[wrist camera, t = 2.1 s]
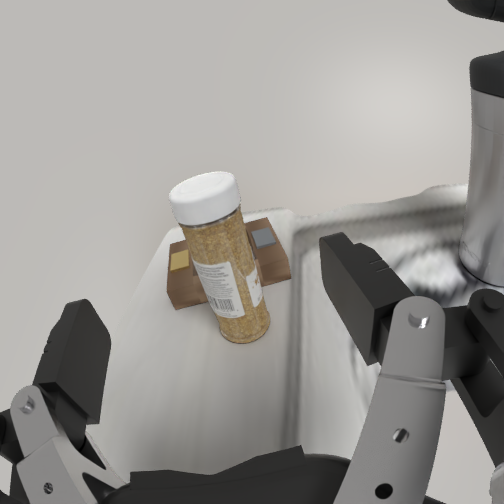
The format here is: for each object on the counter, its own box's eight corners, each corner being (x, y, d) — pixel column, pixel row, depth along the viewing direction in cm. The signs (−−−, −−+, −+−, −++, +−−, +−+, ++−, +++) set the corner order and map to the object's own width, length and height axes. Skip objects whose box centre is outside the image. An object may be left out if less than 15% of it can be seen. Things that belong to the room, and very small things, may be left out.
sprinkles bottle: (281, 321, 27) (249, 173, 19) (243, 354, 24) (189, 204, 17) (246, 300, 30) (208, 166, 22) (210, 328, 27) (155, 192, 20)
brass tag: (189, 251, 34) (188, 249, 34) (189, 267, 32) (188, 265, 31) (172, 256, 34) (171, 254, 34) (171, 273, 32) (170, 270, 31)
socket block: (270, 234, 38) (267, 217, 37) (291, 278, 31) (287, 258, 30) (176, 260, 38) (170, 244, 37) (175, 309, 30) (166, 291, 29)
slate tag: (269, 229, 35) (268, 227, 35) (276, 243, 32) (275, 241, 32) (251, 234, 35) (251, 231, 34) (257, 249, 32) (256, 246, 32)
